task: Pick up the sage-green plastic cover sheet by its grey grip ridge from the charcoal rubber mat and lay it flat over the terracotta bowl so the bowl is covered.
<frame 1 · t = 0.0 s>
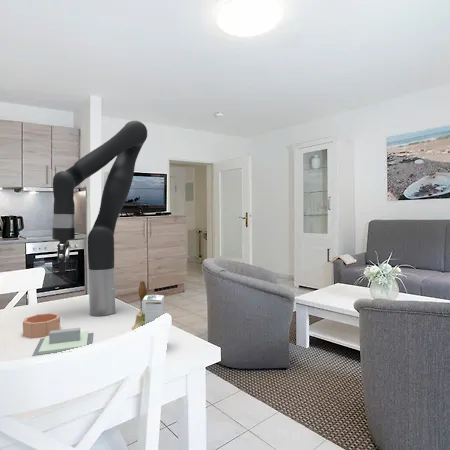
hand: (63, 270, 126), 17 cm above the table, tool pointing down, fingers open, 8 cm apart
bowl: (42, 333, 109), on the table
hand bell: (143, 330, 113), on the table
mat: (65, 345, 100), on the table
syrup box: (153, 347, 98), on the table
cover sheet: (65, 343, 100), point 1 cm above the table, touching mat
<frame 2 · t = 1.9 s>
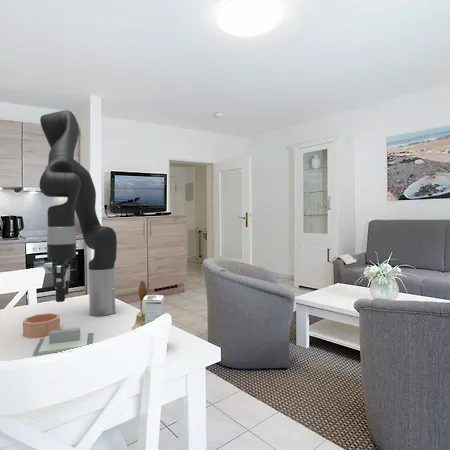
hand: (62, 297, 99), 14 cm above the table, tool pointing down, fingers open, 8 cm apart
nothing on the table moved.
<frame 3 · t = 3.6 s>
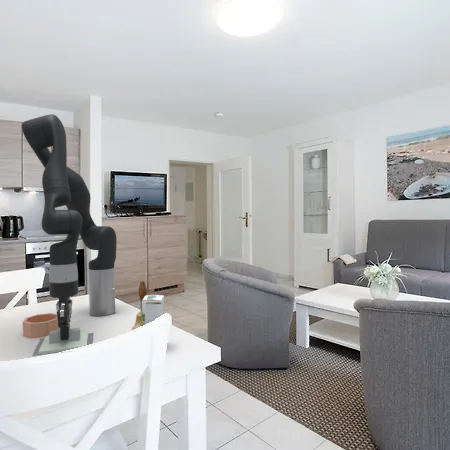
hand: (65, 337, 99), 2 cm above the table, tool pointing down, fingers closed on cover sheet, 2 cm apart
cover sheet: (65, 343, 100), point 1 cm above the table, touching gripper, mat
everything else where it was.
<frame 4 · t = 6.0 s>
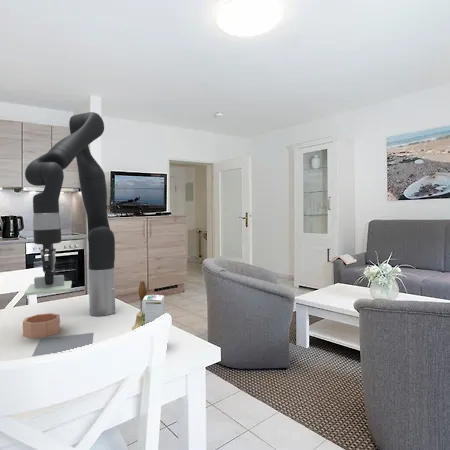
hand: (49, 283, 106), 17 cm above the table, tool pointing down, fingers closed on cover sheet, 2 cm apart
cover sheet: (49, 288, 106), point 15 cm above the table, touching gripper
everything else where it was.
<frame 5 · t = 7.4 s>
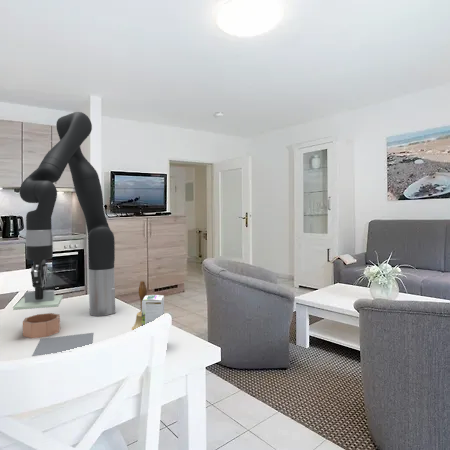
hand: (40, 297, 109), 11 cm above the table, tool pointing down, fingers closed on cover sheet, 2 cm apart
cover sheet: (39, 303, 109), point 10 cm above the table, touching gripper
everything else where it was.
when the fingers open (8 cm above the table, at t = 8.6 s): cover sheet drops 2 cm, resting on bowl.
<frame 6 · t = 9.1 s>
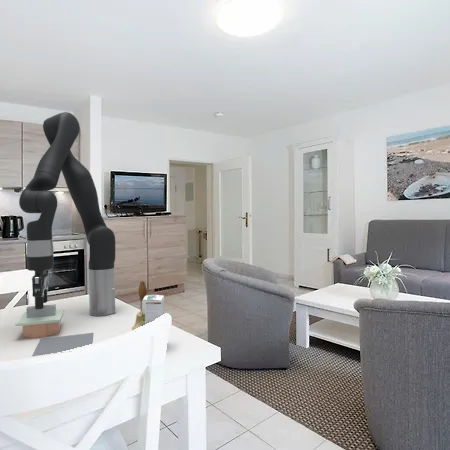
hand: (41, 305, 109), 9 cm above the table, tool pointing down, fingers open, 7 cm apart
cover sheet: (41, 318, 109), point 5 cm above the table, touching bowl
everything else where it was.
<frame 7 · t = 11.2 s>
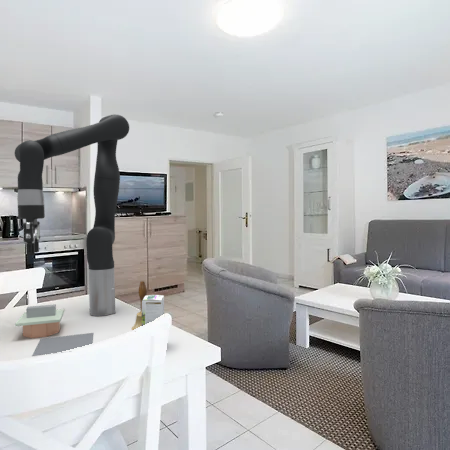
hand: (33, 253, 111), 25 cm above the table, tool pointing down, fingers open, 8 cm apart
nothing on the table moved.
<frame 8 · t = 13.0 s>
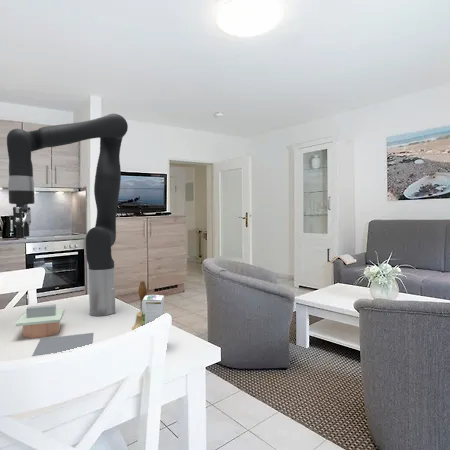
hand: (23, 237, 117), 30 cm above the table, tool pointing down, fingers open, 8 cm apart
nothing on the table moved.
at the end: cover sheet 0.1 cm off-centre on the bowl, point 5.0 cm above the bowl's base; cover sheet tilted 0°; the gripper is holding nothing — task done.
